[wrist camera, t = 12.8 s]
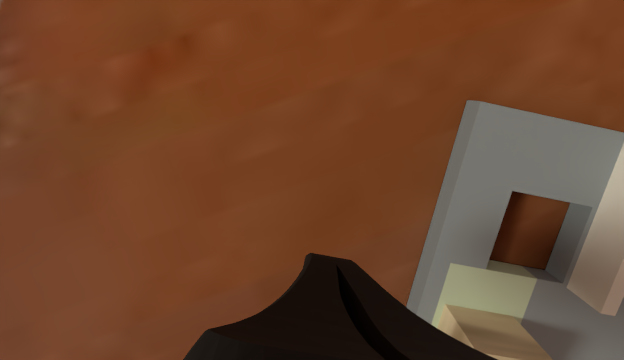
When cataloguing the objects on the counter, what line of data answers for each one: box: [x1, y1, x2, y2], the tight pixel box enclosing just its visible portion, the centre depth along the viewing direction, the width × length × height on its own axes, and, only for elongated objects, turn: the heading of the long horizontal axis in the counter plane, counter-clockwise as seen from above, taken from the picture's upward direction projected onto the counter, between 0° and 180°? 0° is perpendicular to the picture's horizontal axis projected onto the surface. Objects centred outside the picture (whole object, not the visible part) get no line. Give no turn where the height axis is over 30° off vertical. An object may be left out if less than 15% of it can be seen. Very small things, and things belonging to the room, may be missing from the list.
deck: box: [406, 100, 624, 360], centre depth 22 cm, size 16×17×2 cm
